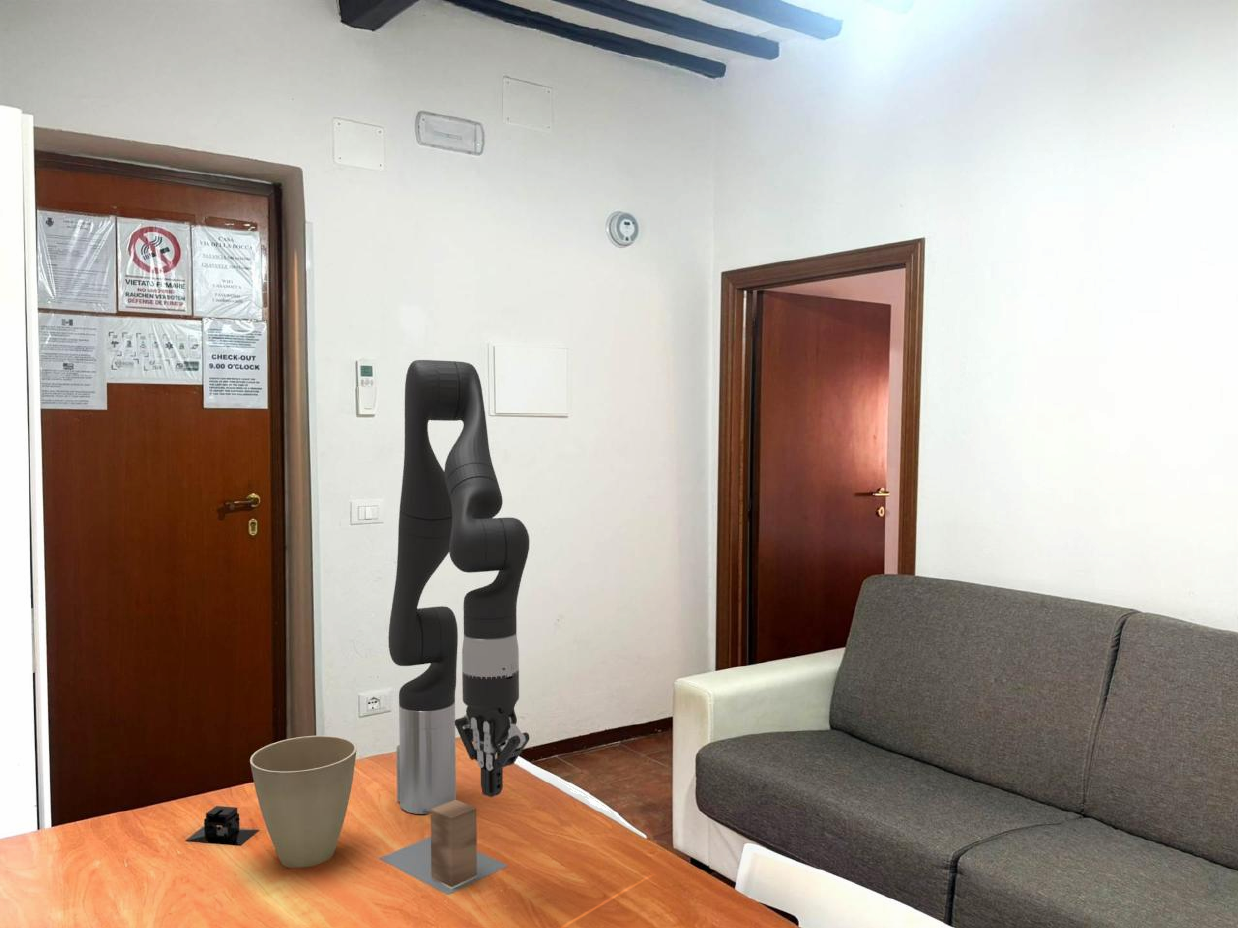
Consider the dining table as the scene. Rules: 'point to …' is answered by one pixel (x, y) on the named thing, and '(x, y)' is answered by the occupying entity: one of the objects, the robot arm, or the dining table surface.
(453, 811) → the walnut block
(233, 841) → the slotted block on plate
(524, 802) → the dining table surface
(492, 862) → the rubber mat
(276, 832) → the plant pot
